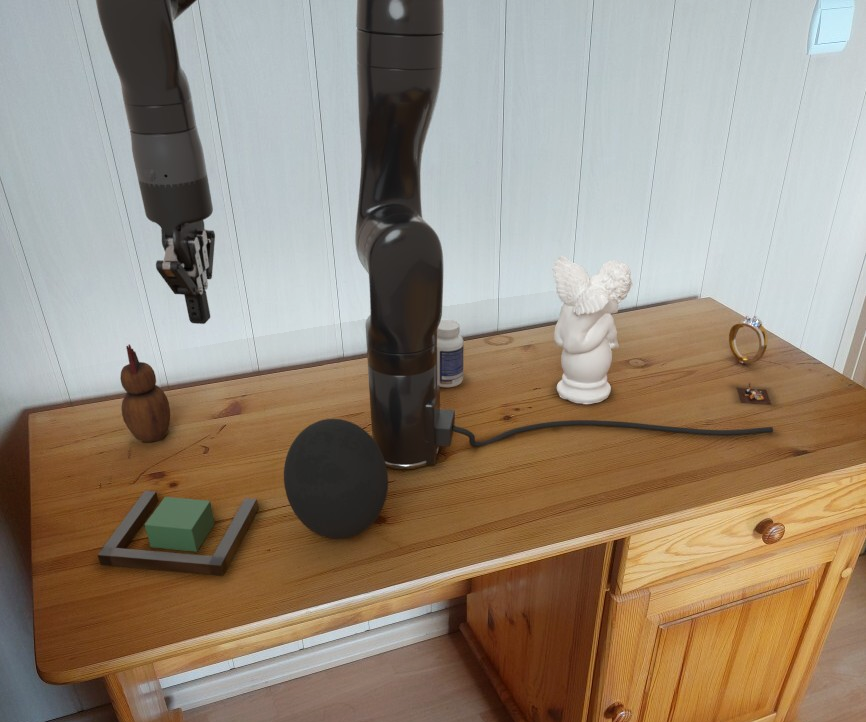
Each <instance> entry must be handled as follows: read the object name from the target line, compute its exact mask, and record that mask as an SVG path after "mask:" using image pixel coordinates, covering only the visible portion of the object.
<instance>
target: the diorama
mask: <svg viewBox="0 0 866 722" xmlns="http://www.w3.org/2000/svg"><path fill="white" fill-rule="evenodd" d="M751 385H752V383H751V382H748V385H747V388H746V387H736V388H737V393H738V397H739V400H740V403H745V404H758V405H759V404H760V405H772V402H771V399H770V397H769V394H768V390H767V389H765V388H764V389H762V388H752V387H751Z"/></svg>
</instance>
